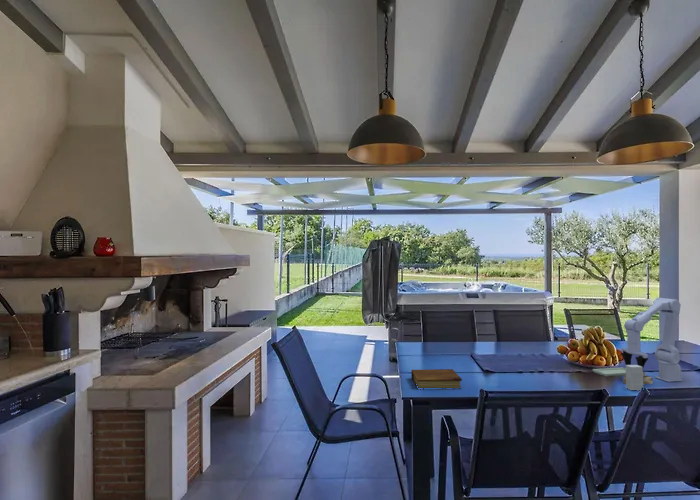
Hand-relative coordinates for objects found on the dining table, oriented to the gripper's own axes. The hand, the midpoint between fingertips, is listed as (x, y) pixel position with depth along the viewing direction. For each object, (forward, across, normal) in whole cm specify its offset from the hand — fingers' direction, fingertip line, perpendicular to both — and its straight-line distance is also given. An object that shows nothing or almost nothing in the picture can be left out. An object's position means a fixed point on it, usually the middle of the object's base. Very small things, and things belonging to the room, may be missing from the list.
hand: (634, 368), depth 210 cm
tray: (+8, -17, +3) cm, 19 cm away
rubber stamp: (+8, 0, +5) cm, 9 cm away
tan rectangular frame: (+8, 0, +2) cm, 8 cm away
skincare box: (+8, +9, -9) cm, 15 cm away
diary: (+9, -18, -104) cm, 106 cm away
